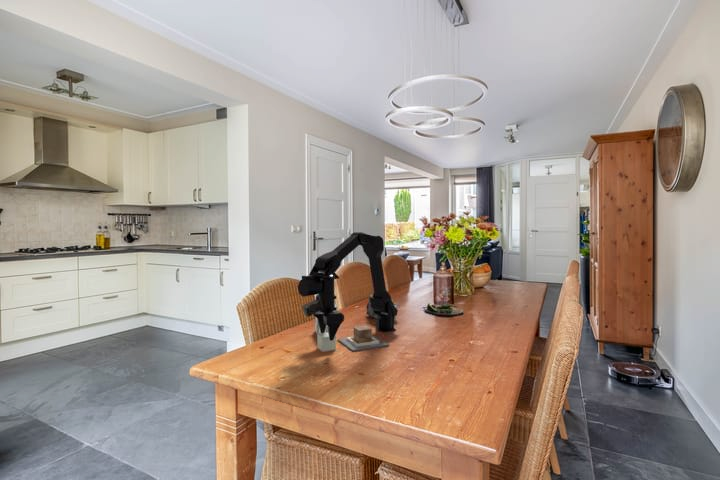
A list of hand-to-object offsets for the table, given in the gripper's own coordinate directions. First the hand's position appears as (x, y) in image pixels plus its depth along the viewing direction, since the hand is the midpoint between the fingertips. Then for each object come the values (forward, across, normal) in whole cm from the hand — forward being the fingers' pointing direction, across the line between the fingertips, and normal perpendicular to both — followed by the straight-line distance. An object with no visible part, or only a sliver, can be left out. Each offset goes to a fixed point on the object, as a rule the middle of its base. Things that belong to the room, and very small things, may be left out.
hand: (326, 336), depth 132 cm
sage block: (+4, 0, 0) cm, 4 cm away
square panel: (+4, 0, +14) cm, 14 cm away
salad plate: (+5, -27, +70) cm, 75 cm away
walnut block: (+4, 0, +14) cm, 14 cm away
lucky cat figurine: (+4, -31, +39) cm, 50 cm away
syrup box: (+1, -22, +6) cm, 23 cm away
